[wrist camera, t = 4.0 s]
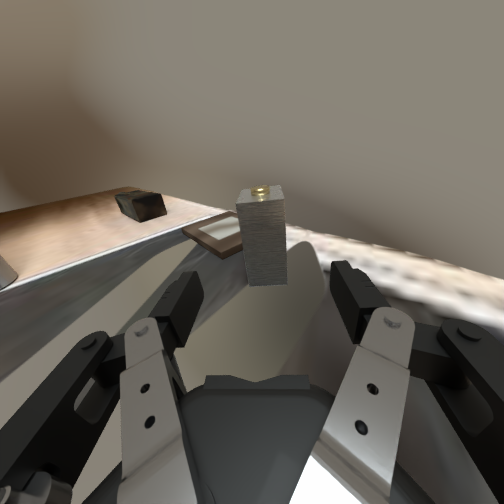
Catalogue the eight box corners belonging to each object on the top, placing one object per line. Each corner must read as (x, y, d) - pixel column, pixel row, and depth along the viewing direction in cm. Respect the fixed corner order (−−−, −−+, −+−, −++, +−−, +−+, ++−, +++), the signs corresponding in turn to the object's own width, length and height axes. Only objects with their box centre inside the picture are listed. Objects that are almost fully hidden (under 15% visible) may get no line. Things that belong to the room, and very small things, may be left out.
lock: (249, 286, 23) (234, 197, 18) (252, 259, 28) (241, 184, 23) (287, 284, 22) (284, 191, 17) (283, 257, 27) (279, 179, 22)
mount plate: (278, 232, 35) (277, 225, 34) (222, 259, 29) (220, 252, 28) (229, 215, 46) (229, 210, 46) (182, 233, 40) (180, 227, 40)
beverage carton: (146, 206, 67) (138, 187, 64) (169, 214, 55) (161, 191, 52) (121, 213, 63) (111, 193, 59) (140, 224, 50) (129, 199, 47)
